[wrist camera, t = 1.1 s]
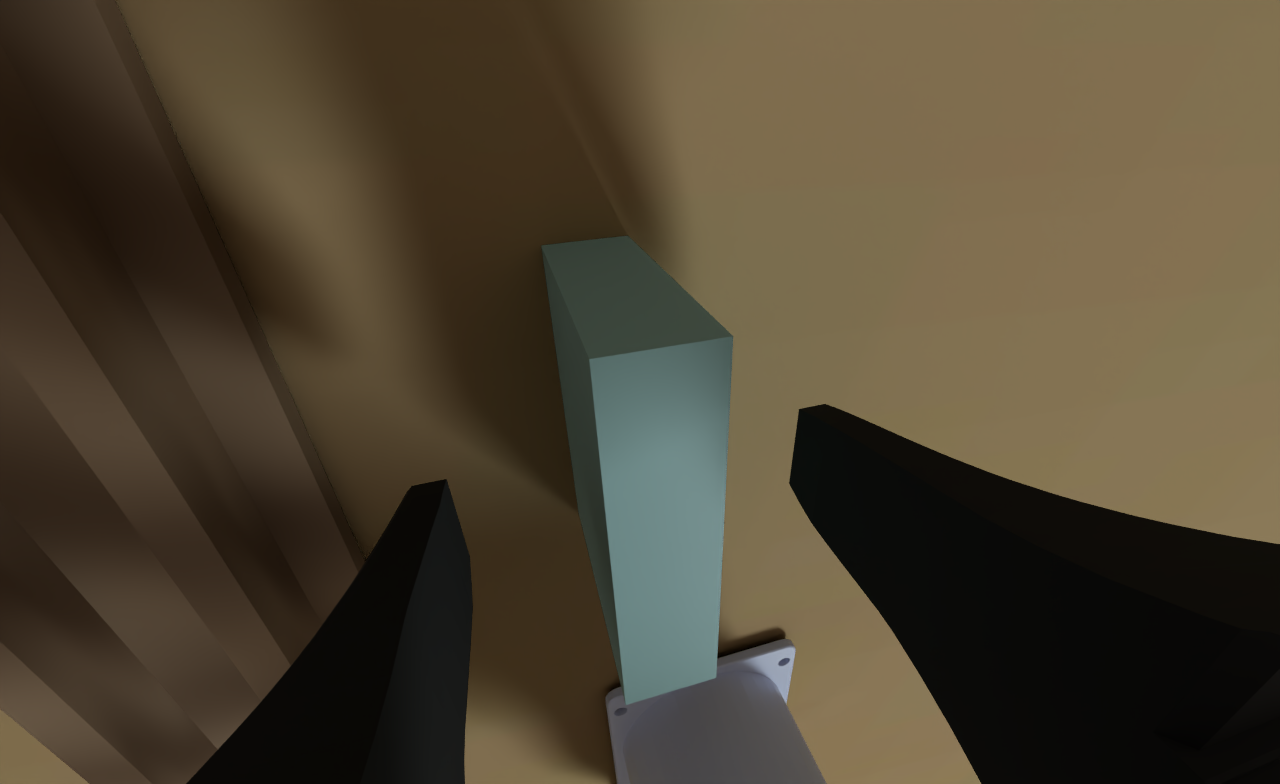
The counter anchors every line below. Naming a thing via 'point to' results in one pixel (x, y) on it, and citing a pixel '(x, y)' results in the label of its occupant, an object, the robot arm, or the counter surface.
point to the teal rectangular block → (645, 454)
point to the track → (137, 429)
